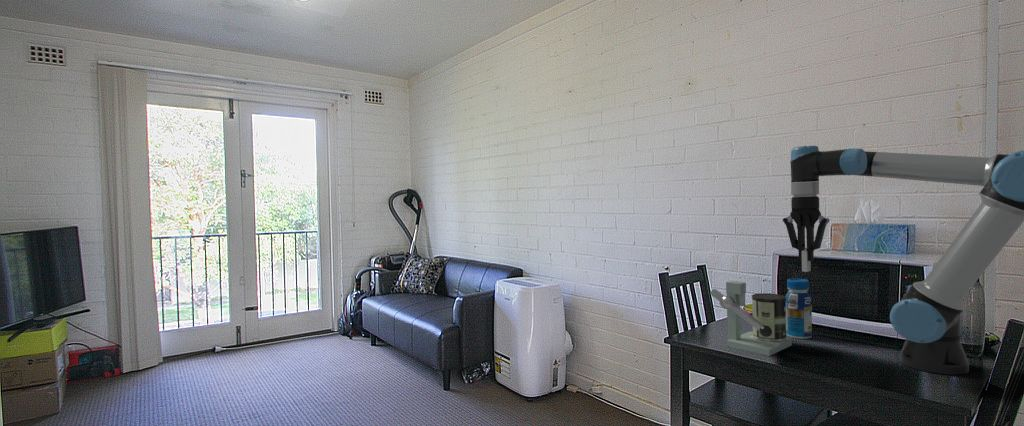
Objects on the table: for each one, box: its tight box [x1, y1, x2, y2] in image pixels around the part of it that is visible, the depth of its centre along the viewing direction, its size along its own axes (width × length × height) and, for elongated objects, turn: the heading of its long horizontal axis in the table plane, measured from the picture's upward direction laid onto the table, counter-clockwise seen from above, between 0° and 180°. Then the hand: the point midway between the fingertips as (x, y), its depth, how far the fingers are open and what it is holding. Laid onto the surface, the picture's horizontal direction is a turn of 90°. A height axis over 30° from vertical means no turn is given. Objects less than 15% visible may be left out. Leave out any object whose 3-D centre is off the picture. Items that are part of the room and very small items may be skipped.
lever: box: [709, 288, 772, 337], centre depth 162 cm, size 22×4×4 cm, turn 38°
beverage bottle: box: [784, 277, 813, 340], centre depth 175 cm, size 8×8×20 cm
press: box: [725, 280, 793, 357], centre depth 166 cm, size 15×18×21 cm
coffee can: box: [751, 292, 787, 342], centre depth 167 cm, size 10×10×14 cm
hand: (806, 271), depth 155 cm, fingers closed
